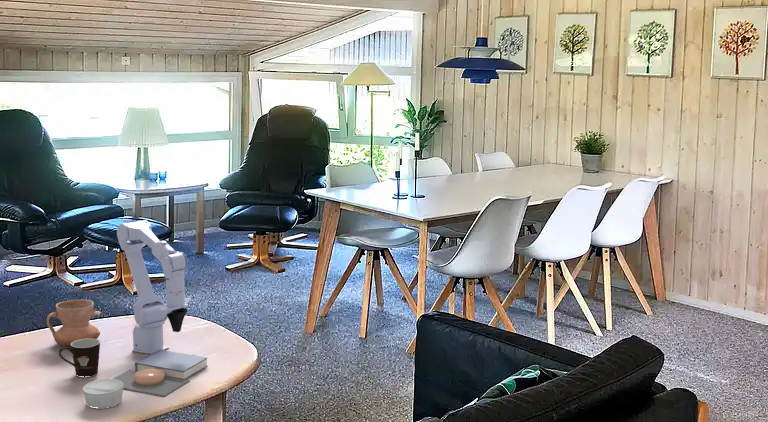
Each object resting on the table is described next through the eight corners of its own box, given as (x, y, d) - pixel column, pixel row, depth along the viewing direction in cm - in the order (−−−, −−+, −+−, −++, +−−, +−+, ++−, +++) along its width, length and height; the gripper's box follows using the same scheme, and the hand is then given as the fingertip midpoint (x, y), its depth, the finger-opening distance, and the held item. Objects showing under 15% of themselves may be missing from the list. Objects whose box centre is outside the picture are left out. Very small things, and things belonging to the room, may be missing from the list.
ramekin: (85, 413, 240) (84, 395, 239) (81, 398, 250) (80, 381, 249) (126, 407, 245) (126, 390, 244) (121, 393, 255) (121, 376, 254)
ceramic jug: (108, 336, 304) (105, 297, 301) (96, 350, 289) (93, 309, 287) (56, 337, 303) (53, 298, 300) (41, 351, 289) (38, 310, 286)
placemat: (102, 385, 260) (102, 383, 260) (130, 370, 272) (129, 369, 272) (164, 396, 252) (164, 395, 252) (189, 381, 264) (189, 380, 264)
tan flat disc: (127, 382, 261) (127, 376, 261) (146, 373, 269) (146, 366, 269) (152, 388, 258) (151, 381, 257) (170, 377, 266) (170, 371, 265)
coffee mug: (107, 371, 272) (105, 340, 270) (89, 380, 264) (88, 349, 262) (76, 366, 275) (75, 336, 273) (58, 375, 267) (56, 344, 265)
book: (135, 371, 271) (134, 362, 271) (160, 358, 283) (159, 349, 283) (183, 380, 265) (183, 371, 264) (207, 366, 277) (207, 357, 276)
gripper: (172, 297, 268) (174, 339, 270) (198, 286, 281) (199, 326, 284) (153, 295, 270) (155, 336, 273) (180, 284, 284) (181, 323, 286)
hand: (176, 331), depth 278 cm, fingers closed
